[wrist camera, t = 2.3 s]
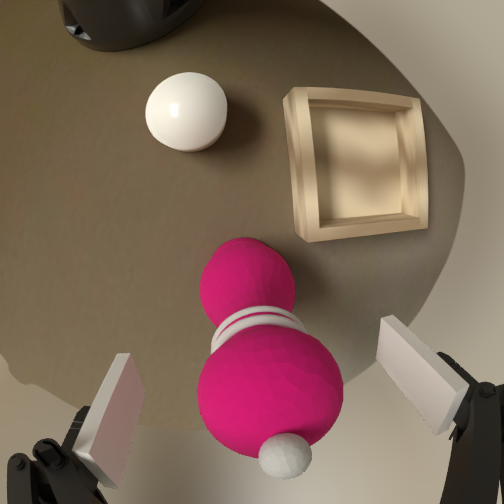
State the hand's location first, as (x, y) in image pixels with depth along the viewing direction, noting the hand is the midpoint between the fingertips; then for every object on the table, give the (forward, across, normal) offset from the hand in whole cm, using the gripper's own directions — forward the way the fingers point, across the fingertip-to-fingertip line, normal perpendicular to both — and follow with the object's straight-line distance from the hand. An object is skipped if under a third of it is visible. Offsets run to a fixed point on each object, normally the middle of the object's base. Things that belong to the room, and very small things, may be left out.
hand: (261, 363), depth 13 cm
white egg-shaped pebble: (+13, -3, +14) cm, 20 cm away
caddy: (+13, +11, +10) cm, 19 cm away
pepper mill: (+13, 0, 0) cm, 13 cm away
